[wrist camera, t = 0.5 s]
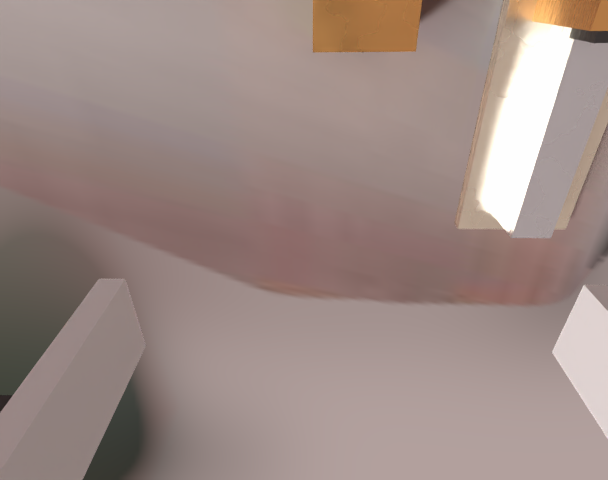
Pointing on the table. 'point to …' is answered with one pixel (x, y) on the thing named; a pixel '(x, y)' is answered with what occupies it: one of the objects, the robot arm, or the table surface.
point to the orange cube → (365, 25)
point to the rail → (538, 117)
